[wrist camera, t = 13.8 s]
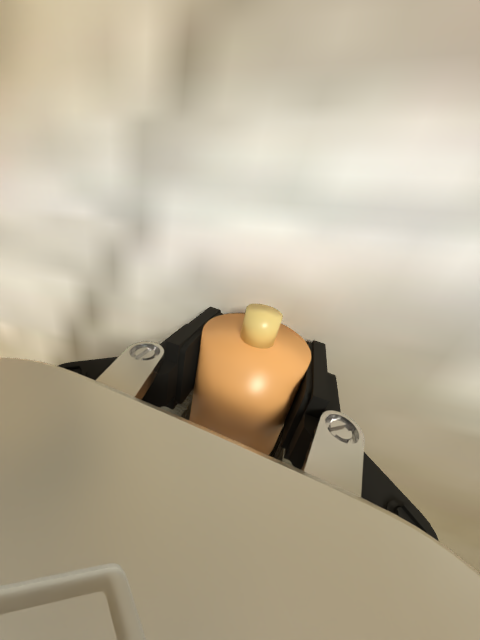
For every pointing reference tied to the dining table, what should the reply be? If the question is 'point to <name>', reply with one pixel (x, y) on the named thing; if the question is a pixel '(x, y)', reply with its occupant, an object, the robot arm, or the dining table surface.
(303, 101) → the dining table surface
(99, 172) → the dining table surface
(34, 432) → the robot arm
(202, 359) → the grey and orange rod
